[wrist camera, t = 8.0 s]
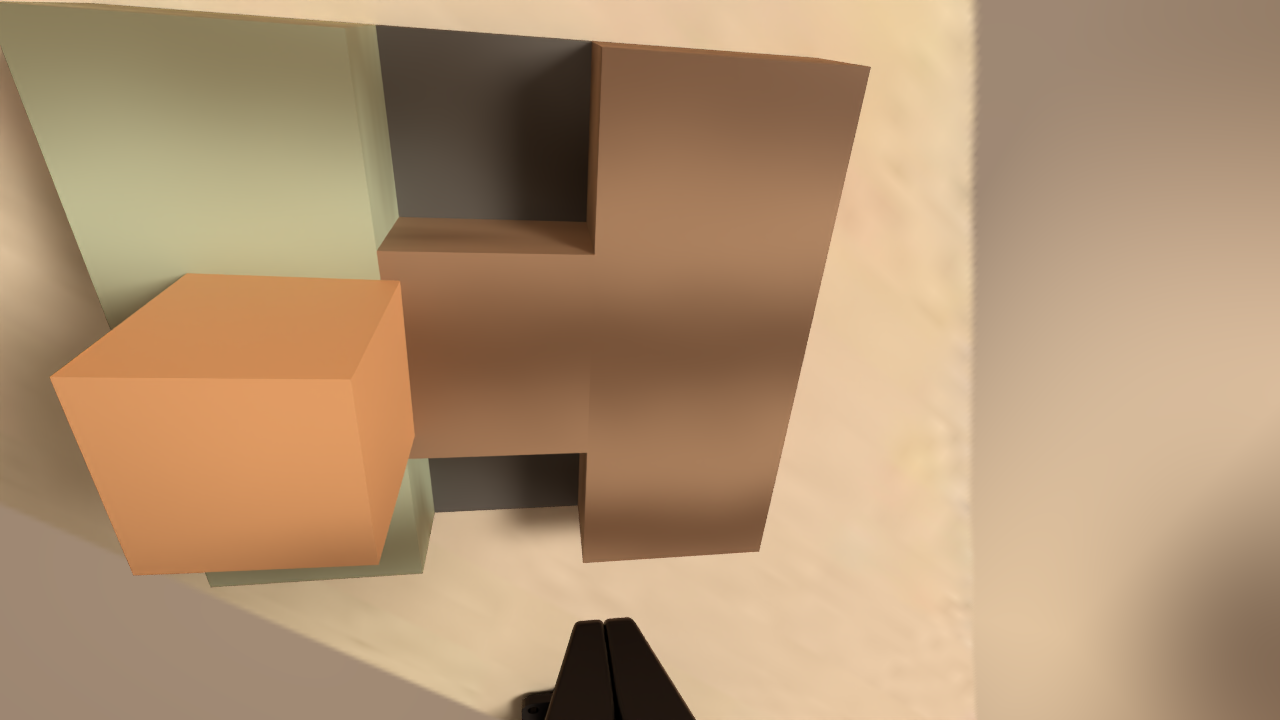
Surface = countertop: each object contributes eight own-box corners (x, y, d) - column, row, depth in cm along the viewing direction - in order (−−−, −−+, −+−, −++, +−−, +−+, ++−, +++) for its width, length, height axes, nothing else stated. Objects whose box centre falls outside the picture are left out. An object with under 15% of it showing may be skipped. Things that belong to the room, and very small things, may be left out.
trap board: (734, 492, 23) (759, 551, 21) (251, 515, 21) (210, 587, 18) (817, 58, 16) (870, 66, 14) (89, 3, 13) (-17, 1, 11)
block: (414, 435, 17) (378, 564, 13) (231, 437, 16) (133, 575, 12) (400, 280, 14) (351, 379, 11) (186, 272, 14) (49, 376, 10)
